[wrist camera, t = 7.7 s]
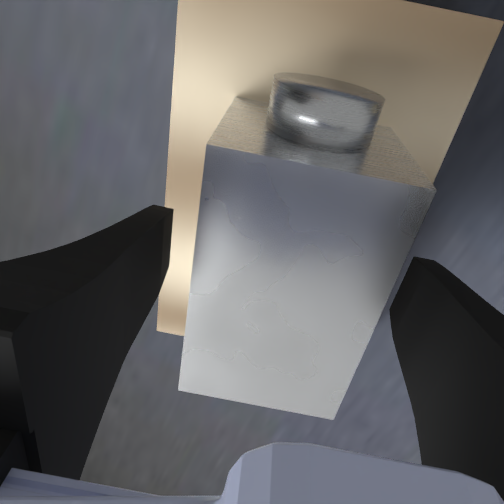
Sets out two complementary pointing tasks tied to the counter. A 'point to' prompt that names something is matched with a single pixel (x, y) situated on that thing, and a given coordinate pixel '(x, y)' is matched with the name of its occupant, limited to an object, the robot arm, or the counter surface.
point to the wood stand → (319, 64)
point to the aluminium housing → (297, 244)
